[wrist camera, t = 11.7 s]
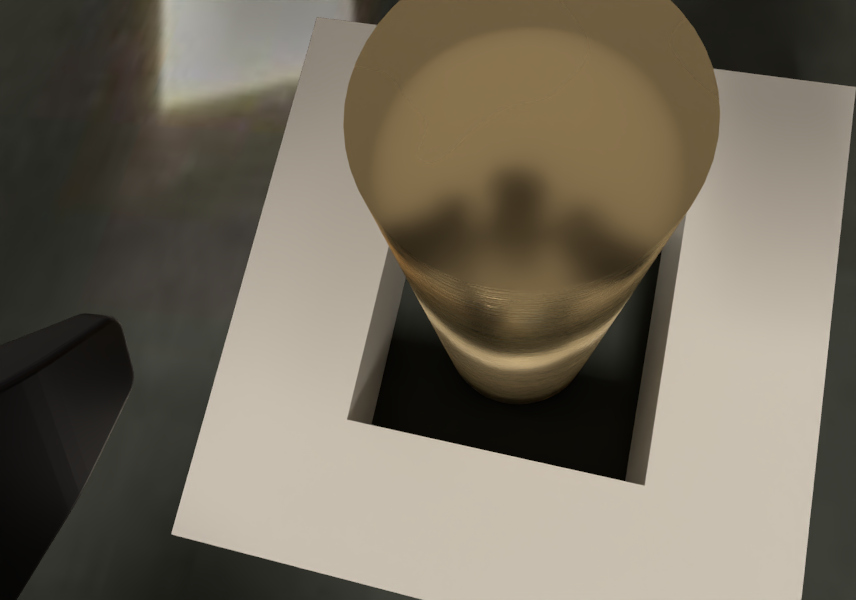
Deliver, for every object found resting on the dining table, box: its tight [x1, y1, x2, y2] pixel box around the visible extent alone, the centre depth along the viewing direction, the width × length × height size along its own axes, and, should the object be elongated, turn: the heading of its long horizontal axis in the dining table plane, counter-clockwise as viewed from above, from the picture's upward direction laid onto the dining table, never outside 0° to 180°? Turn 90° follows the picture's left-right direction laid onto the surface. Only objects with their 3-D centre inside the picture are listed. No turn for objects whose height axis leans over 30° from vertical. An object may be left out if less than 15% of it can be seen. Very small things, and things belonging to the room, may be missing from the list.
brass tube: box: [343, 0, 720, 405], centre depth 14 cm, size 4×4×13 cm
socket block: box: [171, 17, 856, 600], centre depth 19 cm, size 14×14×3 cm
